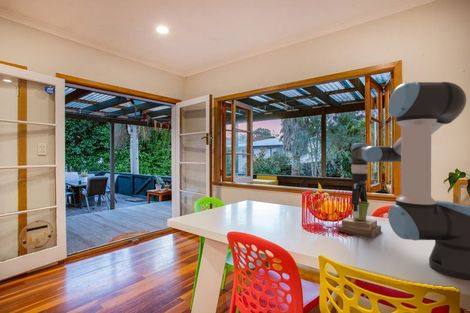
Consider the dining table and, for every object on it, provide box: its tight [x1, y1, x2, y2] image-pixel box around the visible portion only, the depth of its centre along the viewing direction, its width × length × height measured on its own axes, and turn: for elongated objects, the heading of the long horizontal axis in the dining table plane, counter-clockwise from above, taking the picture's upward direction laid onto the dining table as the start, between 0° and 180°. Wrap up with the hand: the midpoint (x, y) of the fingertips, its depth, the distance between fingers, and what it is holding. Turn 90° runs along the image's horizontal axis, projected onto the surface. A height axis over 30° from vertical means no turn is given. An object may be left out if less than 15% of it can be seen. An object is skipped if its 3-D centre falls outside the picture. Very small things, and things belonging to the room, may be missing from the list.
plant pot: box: [351, 200, 371, 220], centre depth 132 cm, size 9×9×9 cm
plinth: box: [337, 216, 382, 240], centre depth 132 cm, size 16×16×6 cm
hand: (359, 215), depth 132 cm, fingers closed on plant pot, 9 cm apart
